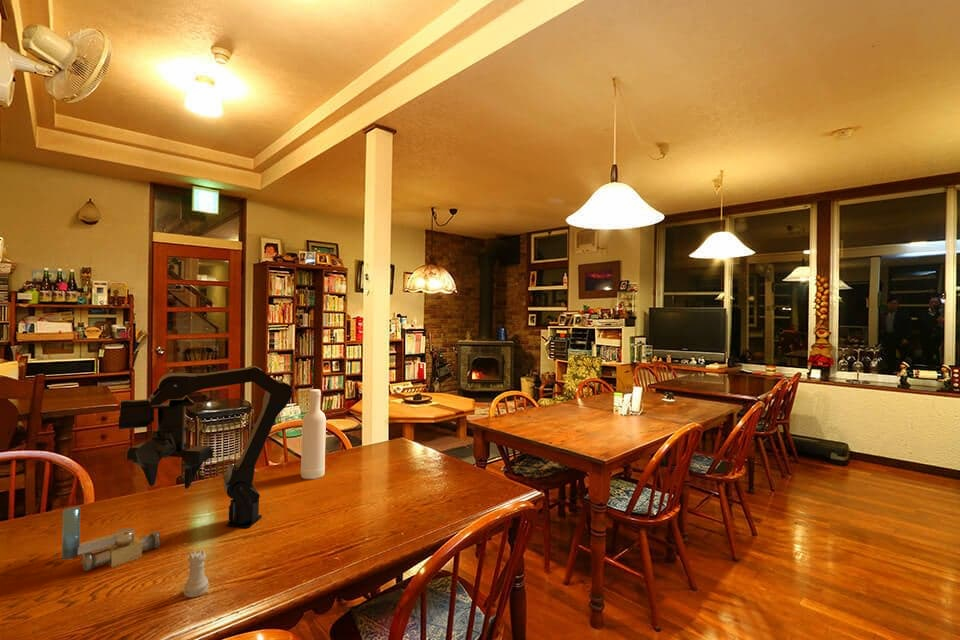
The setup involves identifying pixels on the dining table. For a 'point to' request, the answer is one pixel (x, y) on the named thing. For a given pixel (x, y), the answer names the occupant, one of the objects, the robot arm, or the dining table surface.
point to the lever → (74, 547)
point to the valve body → (121, 552)
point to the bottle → (313, 439)
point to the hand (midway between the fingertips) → (169, 487)
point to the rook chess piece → (196, 575)
